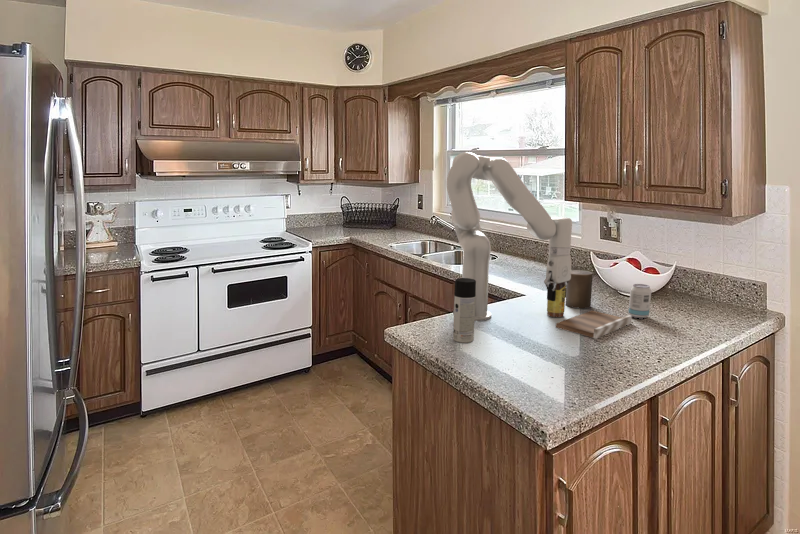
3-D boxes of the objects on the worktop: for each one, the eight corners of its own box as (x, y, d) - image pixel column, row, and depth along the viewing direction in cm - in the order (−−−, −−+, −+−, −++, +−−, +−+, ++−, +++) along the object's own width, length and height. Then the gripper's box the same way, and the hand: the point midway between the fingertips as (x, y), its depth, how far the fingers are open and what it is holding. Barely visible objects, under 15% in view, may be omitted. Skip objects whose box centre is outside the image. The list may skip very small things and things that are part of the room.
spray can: (459, 335, 166) (460, 276, 162) (477, 339, 162) (479, 279, 158) (449, 340, 160) (450, 280, 156) (468, 345, 157) (470, 283, 153)
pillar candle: (594, 308, 196) (597, 271, 193) (569, 308, 196) (571, 271, 193) (585, 302, 205) (588, 266, 203) (561, 302, 206) (564, 266, 203)
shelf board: (596, 338, 162) (596, 329, 162) (555, 327, 174) (556, 319, 173) (630, 323, 178) (631, 315, 177) (591, 314, 189) (592, 306, 188)
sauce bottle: (564, 318, 184) (568, 265, 179) (547, 317, 185) (550, 265, 181) (562, 313, 190) (566, 262, 186) (545, 312, 191) (548, 261, 187)
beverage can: (647, 315, 188) (650, 284, 185) (649, 320, 181) (653, 288, 179) (627, 313, 190) (630, 282, 187) (629, 318, 183) (632, 287, 181)
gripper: (554, 255, 174) (551, 305, 178) (581, 250, 185) (578, 296, 189) (536, 252, 180) (534, 300, 183) (563, 247, 191) (560, 293, 194)
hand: (556, 298), depth 186 cm, fingers closed on sauce bottle, 6 cm apart
